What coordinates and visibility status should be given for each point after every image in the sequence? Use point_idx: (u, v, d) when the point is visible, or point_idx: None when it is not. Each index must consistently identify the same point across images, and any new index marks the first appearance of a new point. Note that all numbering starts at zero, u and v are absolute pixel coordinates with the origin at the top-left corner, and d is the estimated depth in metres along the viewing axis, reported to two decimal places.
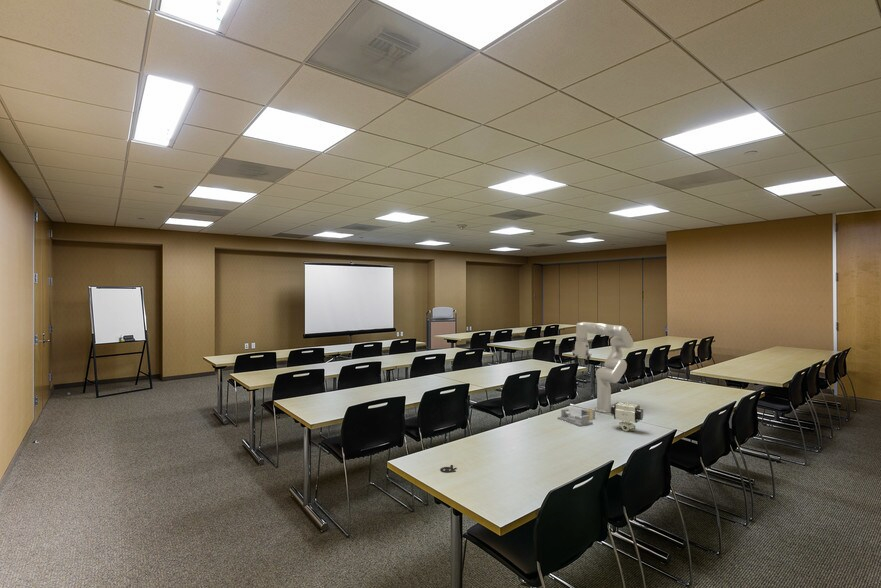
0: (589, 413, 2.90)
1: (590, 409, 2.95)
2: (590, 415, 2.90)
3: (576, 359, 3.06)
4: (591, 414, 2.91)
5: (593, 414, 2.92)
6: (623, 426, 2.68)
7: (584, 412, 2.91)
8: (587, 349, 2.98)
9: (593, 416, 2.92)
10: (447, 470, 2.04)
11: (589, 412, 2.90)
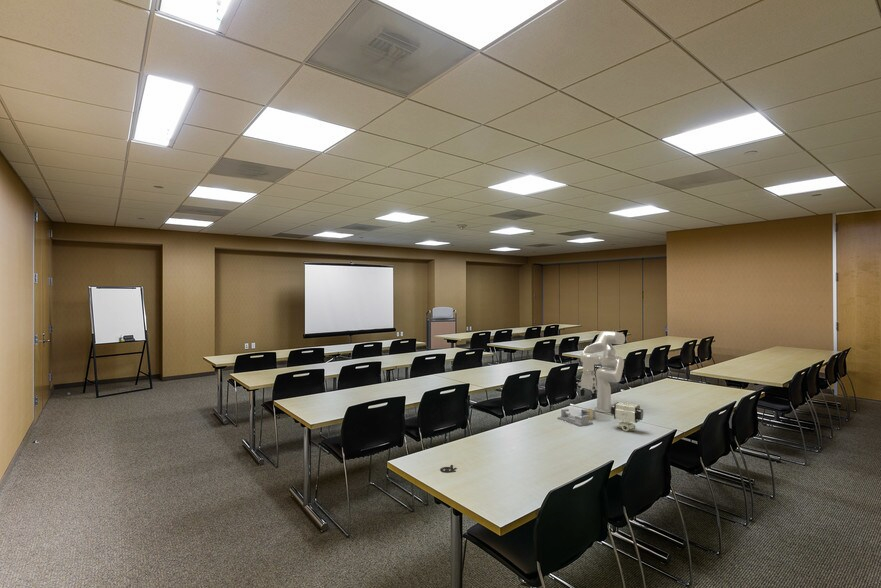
0: (589, 413, 2.90)
1: (590, 409, 2.95)
2: (590, 415, 2.90)
3: (582, 392, 2.96)
4: (591, 414, 2.91)
5: (593, 414, 2.92)
6: (623, 426, 2.68)
7: (584, 412, 2.91)
8: (594, 382, 2.89)
9: (593, 416, 2.92)
10: (447, 470, 2.04)
11: (589, 412, 2.90)
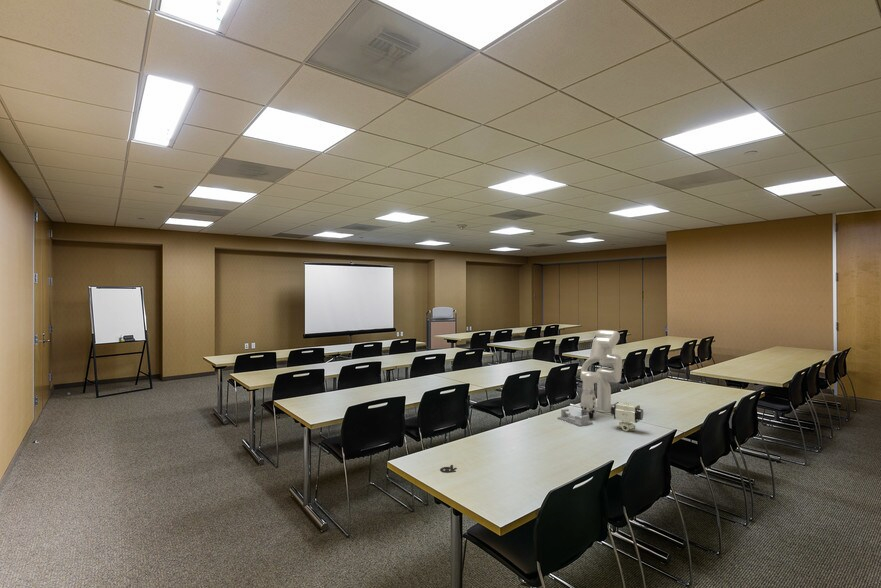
0: (589, 413, 2.90)
1: None
2: None
3: None
4: None
5: (593, 414, 2.92)
6: (623, 426, 2.68)
7: (584, 411, 2.91)
8: (594, 401, 2.89)
9: (593, 416, 2.92)
10: (447, 470, 2.04)
11: (589, 412, 2.90)
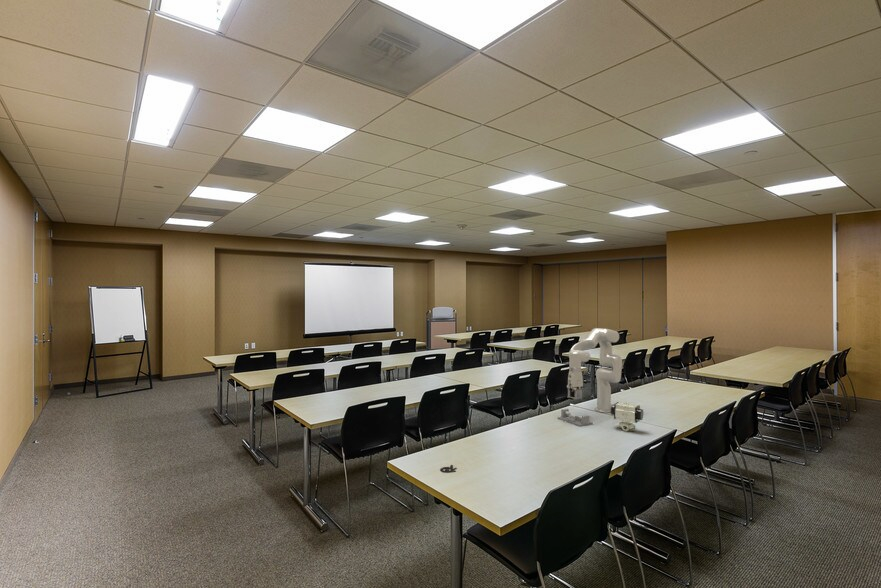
0: None
1: (578, 389, 2.84)
2: None
3: None
4: None
5: (575, 393, 2.83)
6: (623, 426, 2.68)
7: None
8: (570, 379, 2.84)
9: (575, 396, 2.83)
10: (447, 470, 2.04)
11: None
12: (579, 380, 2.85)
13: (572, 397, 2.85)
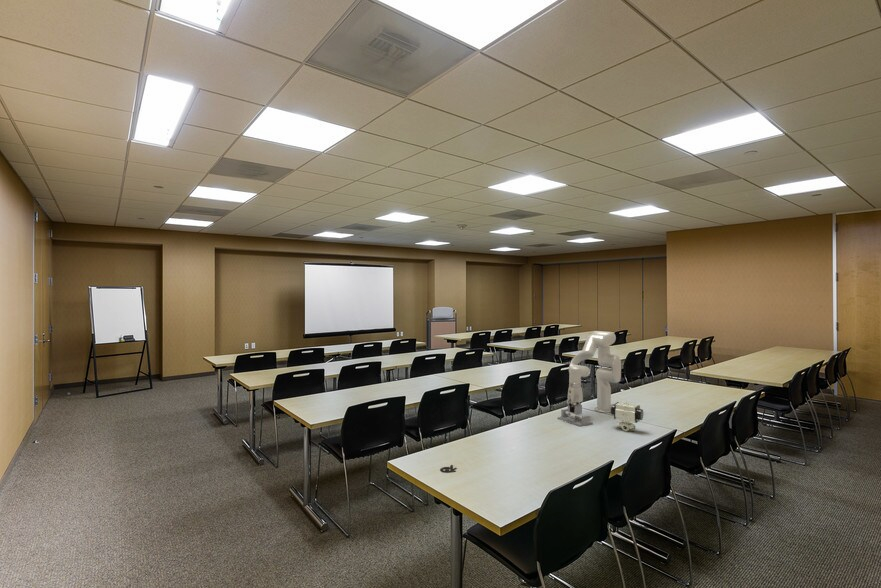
0: None
1: (578, 405, 2.84)
2: None
3: None
4: None
5: (574, 409, 2.83)
6: (623, 426, 2.68)
7: None
8: (570, 395, 2.84)
9: (574, 411, 2.83)
10: (447, 470, 2.04)
11: None
12: (579, 395, 2.85)
13: None
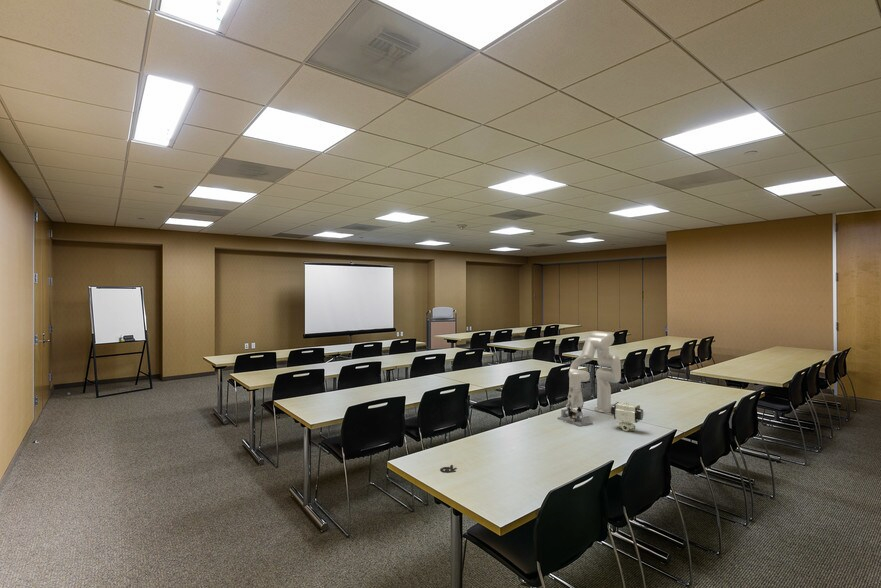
0: None
1: (578, 411, 2.84)
2: None
3: None
4: None
5: (575, 416, 2.83)
6: (623, 426, 2.68)
7: None
8: (570, 399, 2.84)
9: (575, 418, 2.83)
10: (447, 470, 2.04)
11: None
12: (579, 400, 2.85)
13: None
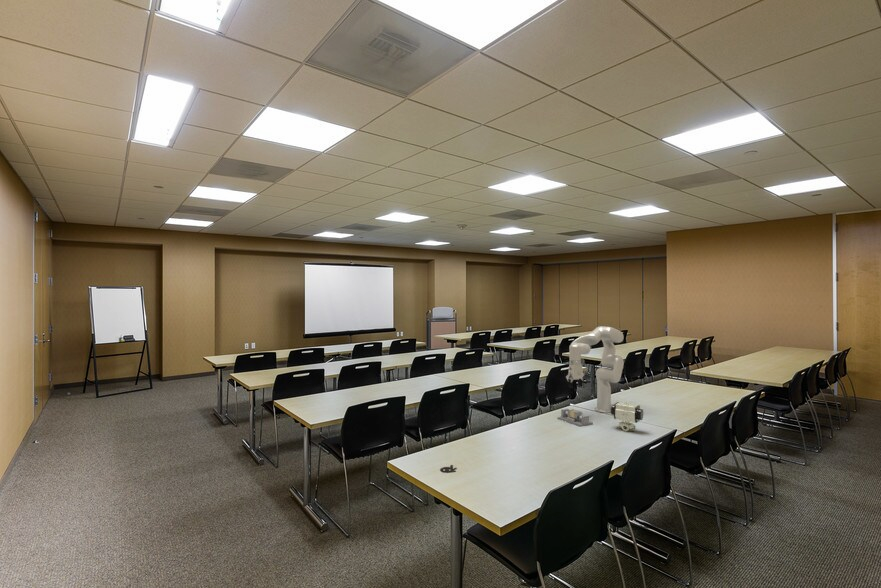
0: (571, 413, 2.87)
1: (578, 411, 2.84)
2: (571, 415, 2.86)
3: (579, 382, 2.95)
4: (572, 415, 2.85)
5: (575, 416, 2.83)
6: (623, 426, 2.68)
7: None
8: (570, 372, 2.90)
9: (575, 418, 2.83)
10: (447, 470, 2.04)
11: (570, 412, 2.87)
12: (579, 372, 2.91)
13: None
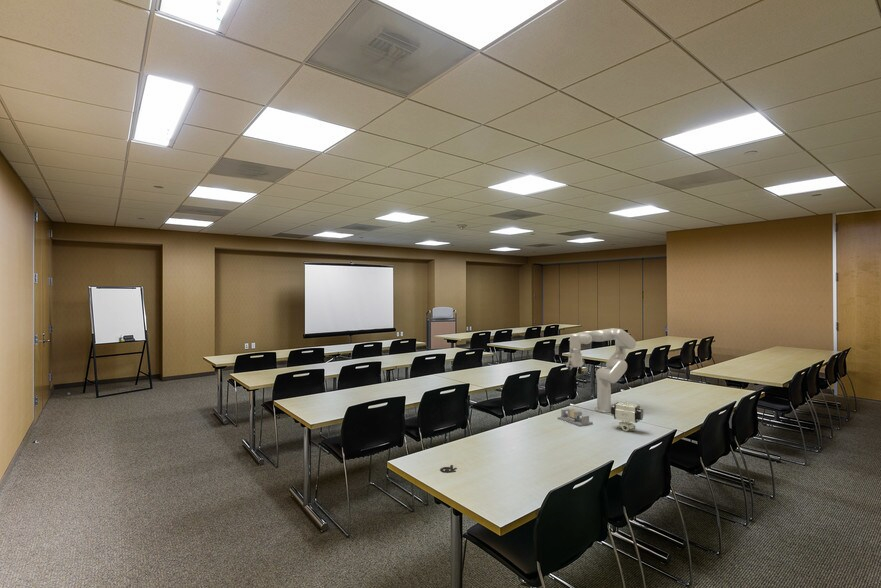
0: (571, 413, 2.87)
1: (578, 411, 2.84)
2: (571, 415, 2.86)
3: (579, 370, 3.09)
4: (572, 415, 2.85)
5: (575, 416, 2.83)
6: (623, 426, 2.68)
7: None
8: (570, 360, 3.04)
9: (575, 418, 2.83)
10: (447, 470, 2.04)
11: (570, 412, 2.87)
12: (579, 360, 3.04)
13: None
